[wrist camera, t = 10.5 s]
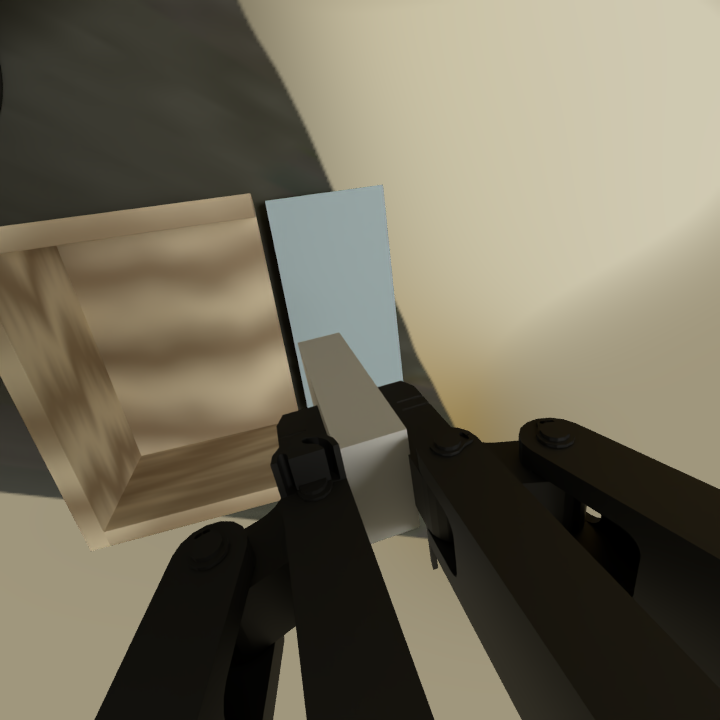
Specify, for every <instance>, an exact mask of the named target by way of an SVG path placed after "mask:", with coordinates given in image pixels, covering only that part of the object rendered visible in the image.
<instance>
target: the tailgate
mask: <svg viewBox="0 0 720 720" xmlns="http://www.w3.org/2000/svg"><path fill="white" fill-rule="evenodd" d="M265 204H266V209H267V214H268V218H269V223H270V228H271V233H272V238H273V243H274V247H275V252H276V257H277V262H278V267H279V272H280V276H281V281H282V286H283V291H284V296H285V301H286V305H287V310H288V315H289V320H290V325H291V330H292V334H293V339H294V344H295V349H296V354H297V359H298V363H299V368H300V373H301V378H302V383H303V388H304V392H305V397H306V402H307V407H308V408H309V407H313V402H312V398H311V394H310V390H309V386H308V382H307V378H306V374H305V370H304V366H303V362H302V358H301V354H300V350H299V346H298V343H299V342H303V341H307V340H311V339H315V338H319V337H323V336H327V335H331V334H335V333H340V334H341V336H342V337H343V338H344V340H345V341H346V343H347V344H348V346H349V347H350V349H351V350H352V351H353V353H354V354H355V356H356V357H357V359H358V360H359V361H360V363H361V364H362V366H363V367H364V369H365V370H366V371H367V373H368V374H369V376H370V377H371V379H372V380H373V382H374V383H375V384H376V386H377V387H380V386H383V385H387V384H390V383H394V382H397V381H403V376H402V366H401V357H400V347H399V337H398V327H397V318H396V308H395V298H394V288H393V279H392V269H391V259H390V249H389V240H388V230H387V220H386V210H385V201H384V191H383V185H377V186H370V187H363V188H355V189H348V190H341V191H334V192H326V193H319V194H312V195H305V196H298V197H290V198H283V199H276V200H269V201H265Z"/></svg>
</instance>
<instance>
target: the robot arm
mask: <svg viewBox="0 0 720 720" xmlns="http://www.w3.org/2000/svg"><path fill="white" fill-rule="evenodd" d="M1 102H2V74H1V67H0V109H1ZM298 346H299V350H300V354H301V358H302V362H303V366H304V370H305V374H306V378H307V382H308V386H309V390H310V394H311V398H312V402H313V407H309V408H305V409H302V410H298V411H295V412H291V413H288V414H284V415H282V417H281V419H280V421H279V423H278V424H277V426H276V428H277V435H278V443H279V448H278V449H277V451H276V452H275V453H274V454H273V456H272V459H271V463H270V466H271V469H272V472H273V475H274V478H275V481H276V484H277V487H278V491H279V494H280V497H281V499H280V501H279V502H278V504H277V505H276V506H275V508H273V509H272V510H271V511H270V512H269V513H268V514H267V515H266V516H264V517H263V518H261V519H260V520H259V521H257V522H255V523H253V524H252V525H250V526H248V527H247V528H245V529H244V528H243V526H241V525H239V524H237V523H235V522H231V521H229V522H228V521H225V522H224V521H221V522H217V523H214V524H210V525H206V526H205V527H203V528H201V529H199V530H198V531H196V532H194V533H192V534H191V535H190V536H189V537H188V538H187V539H186V540H185V541H183V542H182V543H181V544H180V546H179V547H178V549H177V550H176V552H175V553H174V555H173V556H172V558H171V560H170V562H169V564H168V566H167V568H166V570H165V572H164V575H163V577H162V579H161V581H160V583H159V585H158V588H157V589H156V592H155V593H154V596H153V598H152V600H151V602H150V604H149V606H148V608H147V610H146V613H145V615H144V617H143V619H142V621H141V623H140V625H139V627H138V629H137V631H136V633H135V636H134V638H133V640H132V642H131V644H130V646H129V648H128V650H127V652H126V655H125V657H124V659H123V661H122V663H121V665H120V667H119V669H118V671H117V673H116V676H115V678H114V680H113V682H112V684H111V686H110V688H109V690H108V692H107V695H106V697H105V699H104V701H103V703H102V705H101V707H100V709H99V711H98V714H97V716H96V718H95V720H273V716H274V709H275V702H276V695H277V688H278V681H279V674H280V667H281V660H282V653H283V646H284V635H285V634H286V633H287V632H288V631H290V630H291V629H293V628H294V627H295V626H296V630H297V639H298V648H299V657H300V665H301V673H302V681H303V691H304V699H305V708H306V717H307V720H434V717H433V715H432V712H431V709H430V706H429V704H428V701H427V698H426V695H425V693H424V690H423V687H422V684H421V682H420V679H419V676H418V674H417V671H416V668H415V665H414V662H413V659H412V657H411V654H410V651H409V648H408V646H407V643H406V640H405V637H404V635H403V632H402V629H401V627H400V624H399V621H398V618H397V615H396V613H395V610H394V607H393V604H392V602H391V599H390V596H389V593H388V590H387V588H386V585H385V582H384V579H383V577H382V574H381V571H380V568H379V566H378V563H377V560H376V558H375V555H374V552H373V549H372V546H371V544H372V543H375V542H378V541H381V540H384V539H386V538H389V537H392V536H395V535H398V534H401V533H404V532H407V531H410V530H412V529H415V528H418V527H420V520H419V513H420V514H421V516H422V518H423V520H424V522H425V524H426V526H427V534H428V541H429V549H430V556H431V562H432V566H433V569H437V568H438V564H437V559H438V561H439V563H440V565H441V567H442V569H443V571H444V573H445V575H446V576H447V578H448V580H449V582H450V584H451V586H452V588H453V590H454V592H455V593H456V595H457V597H458V599H459V601H460V603H461V605H462V607H463V609H464V611H465V613H466V615H467V616H468V618H469V620H470V622H471V624H472V626H473V628H474V630H475V632H476V634H477V635H478V637H479V639H480V641H481V643H482V645H483V647H484V649H485V650H486V652H487V654H488V656H489V658H490V660H491V662H492V664H493V666H494V668H495V670H496V672H497V673H498V675H499V677H500V679H501V681H502V683H503V685H504V687H505V689H506V690H507V692H508V694H509V696H510V698H511V700H512V702H513V704H514V706H515V708H516V710H517V711H518V713H519V715H520V717H521V719H522V720H720V489H718V488H716V487H713V486H711V485H709V484H707V483H705V482H703V481H700V480H698V479H696V478H694V477H692V476H689V475H687V474H685V473H683V472H681V471H679V470H676V469H674V468H672V467H670V466H667V465H665V464H663V463H661V462H659V461H657V460H655V459H652V458H650V457H648V456H646V455H644V454H642V453H639V452H637V451H635V450H633V449H631V448H628V447H626V446H624V445H622V444H620V443H618V442H615V441H613V440H611V439H609V438H607V437H604V436H602V435H600V434H598V433H596V432H594V431H591V430H589V429H587V428H585V427H583V426H580V425H578V424H576V423H573V422H570V421H567V420H564V419H556V418H541V419H535V420H532V421H530V422H527V423H526V424H525V425H523V427H521V428H520V433H519V441H509V442H497V443H484V442H481V441H480V440H479V439H478V437H476V436H475V435H473V434H472V433H471V432H469V431H467V430H464V429H460V428H454V427H450V425H449V424H448V423H447V422H446V421H445V420H444V419H443V418H442V417H441V415H440V414H439V413H438V412H437V411H436V410H435V409H434V408H433V407H432V405H431V404H429V403H428V401H427V400H426V399H425V398H424V397H422V394H421V393H420V392H419V391H418V390H417V389H416V388H415V387H414V386H413V385H410V384H408V383H405V382H403V381H397V382H394V383H390V384H387V385H383V386H380V387H377V386H376V384H375V383H374V382H373V380H372V379H371V377H370V376H369V374H368V373H367V371H366V370H365V369H364V367H363V366H362V364H361V363H360V361H359V360H358V359H357V357H356V356H355V354H354V353H353V351H352V350H351V349H350V347H349V346H348V344H347V343H346V341H345V340H344V338H343V337H342V336H341V334H340V333H335V334H331V335H327V336H323V337H319V338H315V339H311V340H307V341H303V342H299V343H298ZM587 506H589V507H590V508H592V509H593V510H595V511H597V512H598V513H600V514H601V518H597V517H595V516H593V515H590V514H589V513H587V512H586V507H587ZM418 511H419V513H418Z"/></svg>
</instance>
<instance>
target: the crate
mask: <svg viewBox="0 0 720 720" xmlns="http://www.w3.org/2000/svg"><path fill="white" fill-rule="evenodd" d="M0 376H1V378H2V380H3V382H4V384H5V386H6V388H7V390H8V392H9V394H10V396H11V398H12V400H13V401H14V403H15V405H16V407H17V409H18V411H19V413H20V415H21V417H22V419H23V421H24V423H25V425H26V427H27V429H28V430H29V432H30V434H31V436H32V438H33V440H34V442H35V444H36V446H37V448H38V450H39V452H40V454H41V456H42V458H43V460H44V461H45V463H46V465H47V467H48V469H49V471H50V473H51V475H52V477H53V479H54V481H55V483H56V485H57V487H58V489H59V490H60V492H61V494H62V496H63V498H64V500H65V502H66V504H67V506H68V508H69V510H70V512H71V513H72V516H73V518H74V520H75V521H76V523H77V525H78V527H79V529H80V531H81V533H82V535H83V537H84V539H85V541H86V543H87V545H88V547H89V549H90V550H91V551H94V550H98V549H101V548H105V547H109V546H113V545H116V544H120V543H123V542H127V541H131V540H135V539H138V538H142V537H146V536H150V535H153V534H157V533H161V532H164V531H168V530H172V529H175V528H179V527H183V526H187V525H190V524H194V523H197V522H202V521H205V520H209V519H213V518H216V517H220V516H224V515H228V514H231V513H235V512H239V511H242V510H246V509H250V508H253V507H257V506H261V505H265V504H268V503H272V502H276V501H279V500H280V499H281V497H280V494H279V491H278V487H277V484H276V481H275V478H274V475H273V472H272V469H271V466H270V463H271V459H272V456H273V454H274V453H275V452H276V451H277V449H278V448H279V443H278V435H277V428H276V426H277V424H278V423H279V421H280V419H281V417H282V415H284V414H288V413H291V412H295V411H298V407H297V402H296V397H295V393H294V388H293V384H292V379H291V374H290V370H289V365H288V361H287V356H286V351H285V347H284V342H283V338H282V333H281V328H280V324H279V319H278V315H277V310H276V305H275V301H274V296H273V292H272V287H271V282H270V278H269V273H268V269H267V264H266V259H265V255H264V250H263V245H262V241H261V236H260V232H259V227H258V222H257V218H256V213H255V209H254V204H253V200H252V197H251V194H250V193H249V194H242V195H234V196H227V197H219V198H212V199H204V200H197V201H189V202H182V203H174V204H167V205H159V206H152V207H144V208H136V209H129V210H121V211H114V212H106V213H99V214H91V215H84V216H76V217H69V218H61V219H54V220H46V221H39V222H31V223H24V224H16V225H9V226H1V227H0Z"/></svg>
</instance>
